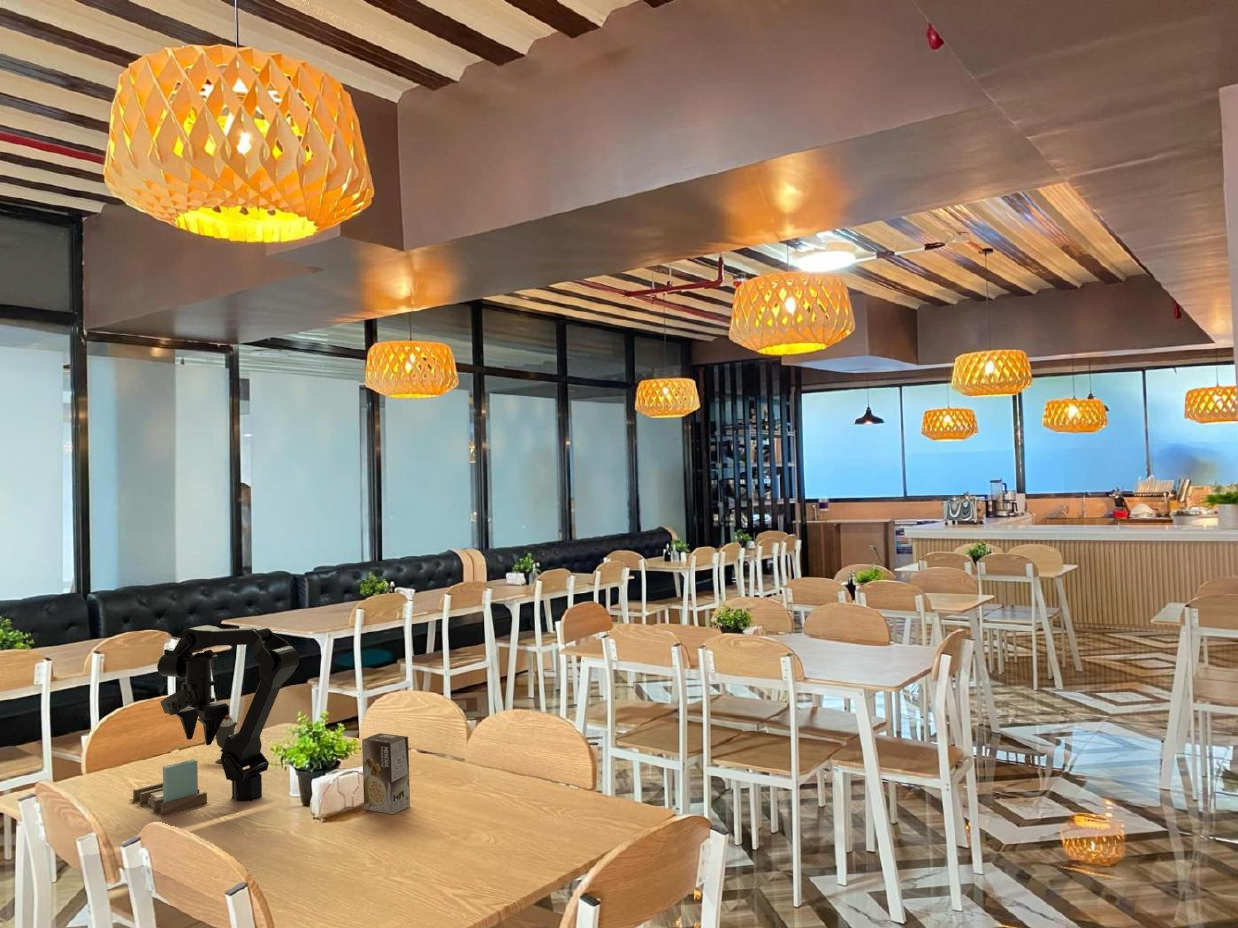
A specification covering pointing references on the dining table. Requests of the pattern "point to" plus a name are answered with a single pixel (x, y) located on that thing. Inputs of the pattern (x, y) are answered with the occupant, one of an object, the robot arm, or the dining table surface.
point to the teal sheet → (180, 780)
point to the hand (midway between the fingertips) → (199, 741)
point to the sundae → (225, 732)
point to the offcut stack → (155, 797)
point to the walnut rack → (170, 807)
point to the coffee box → (386, 773)
